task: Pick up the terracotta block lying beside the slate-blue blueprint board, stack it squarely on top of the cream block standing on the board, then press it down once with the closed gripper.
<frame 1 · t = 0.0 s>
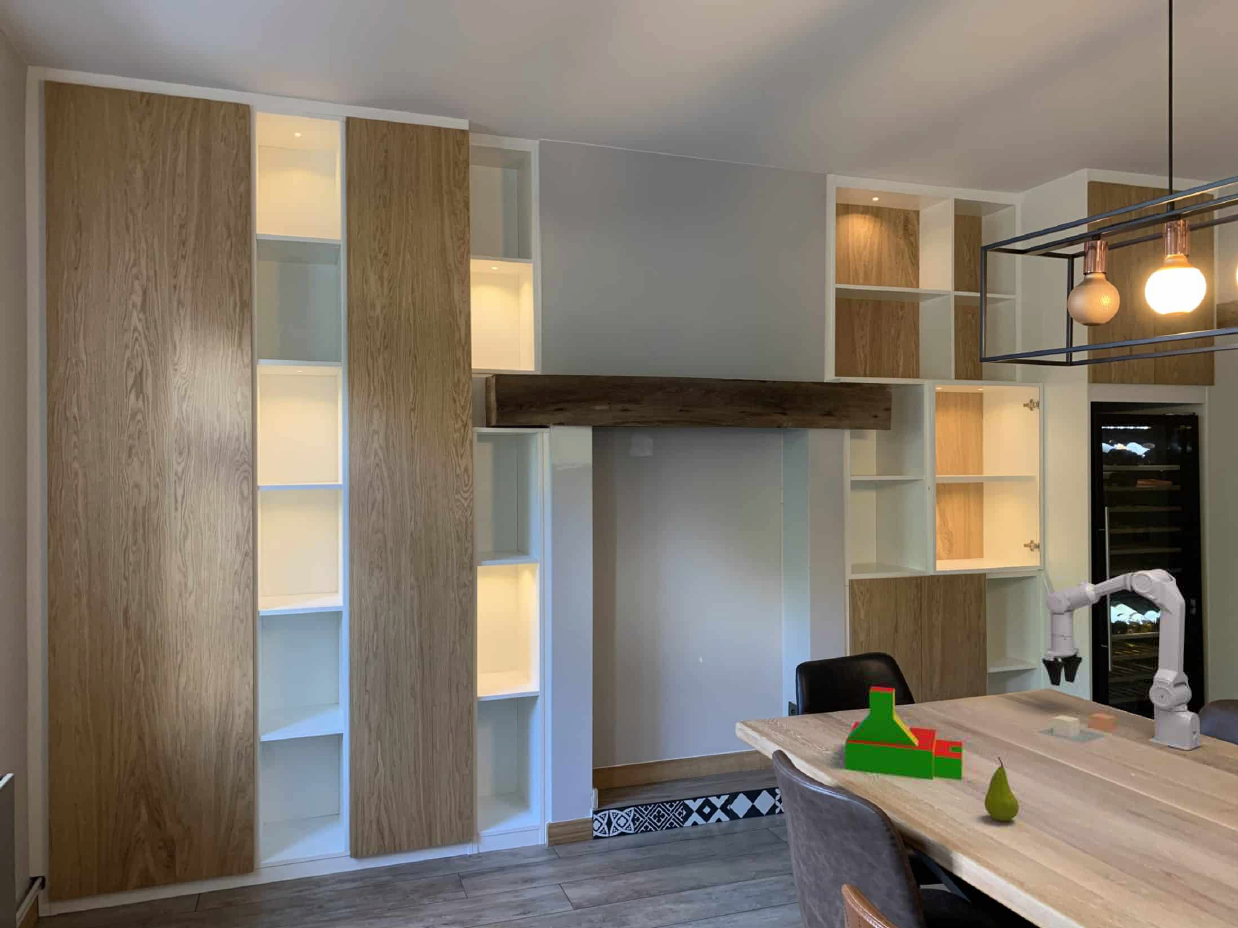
hand: (1062, 683, 248), 10 cm above the table, fingers open, 7 cm apart
cream block: (1066, 733, 231), resting on blueprint board
terracotta block: (1103, 730, 236), on the table
fruit: (1001, 820, 172), on the table
blueprint board: (1072, 735, 231), on the table
building blocks toy: (905, 765, 207), on the table
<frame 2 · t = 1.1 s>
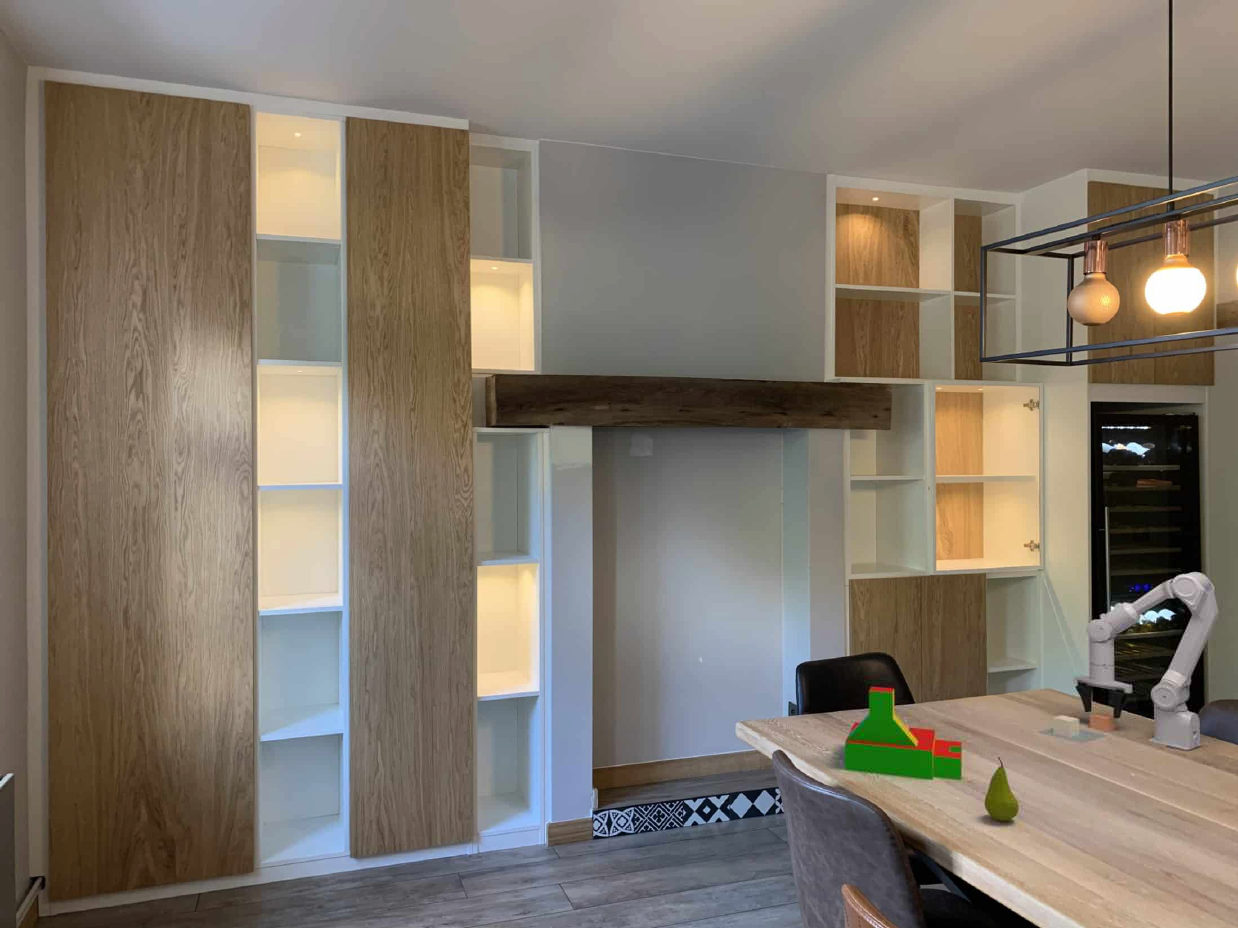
hand: (1102, 714, 236), 4 cm above the table, fingers open, 7 cm apart
nothing on the table moved.
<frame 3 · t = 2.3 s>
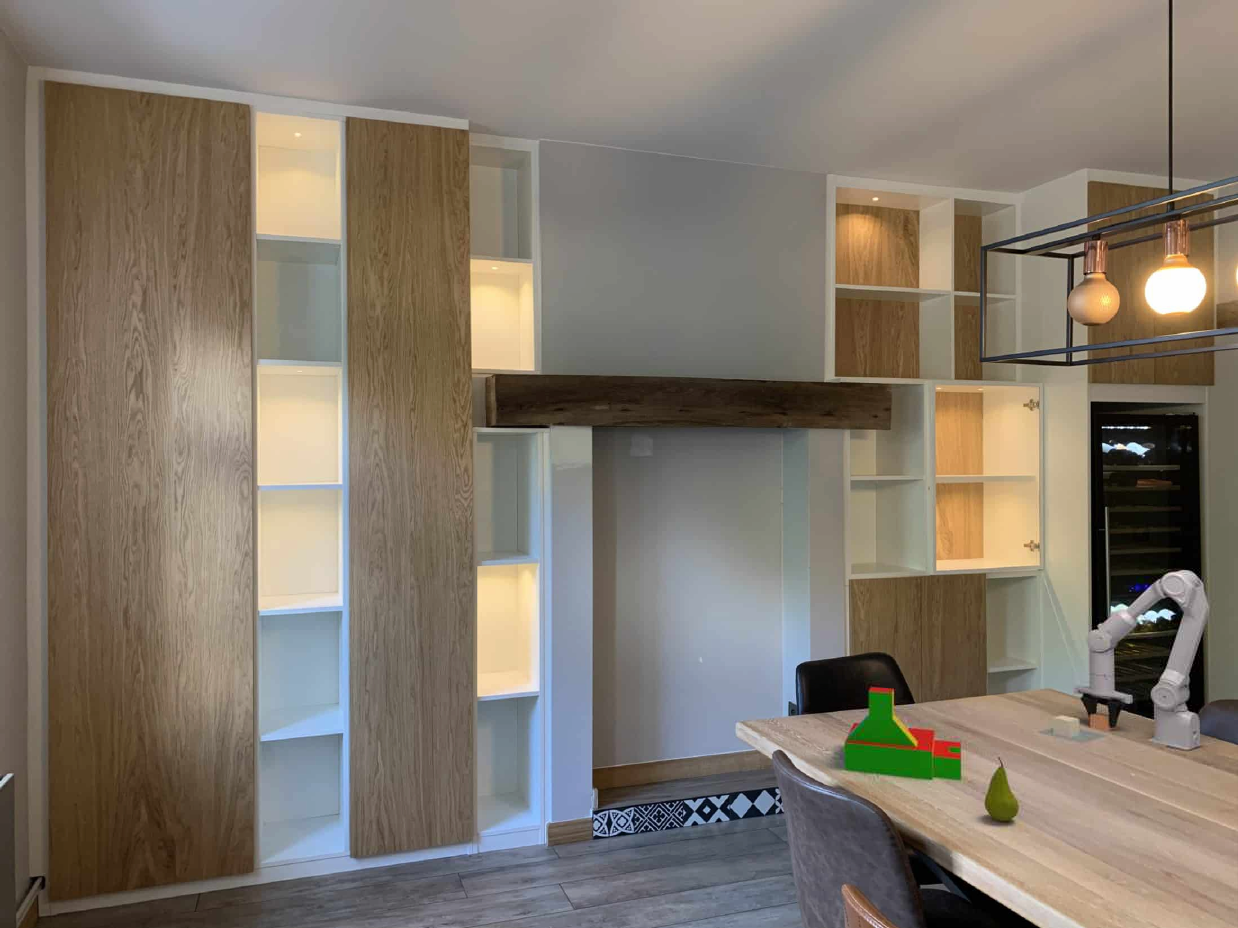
hand: (1102, 725, 236), 1 cm above the table, fingers closed on terracotta block, 4 cm apart
terracotta block: (1103, 730, 236), on the table, touching gripper
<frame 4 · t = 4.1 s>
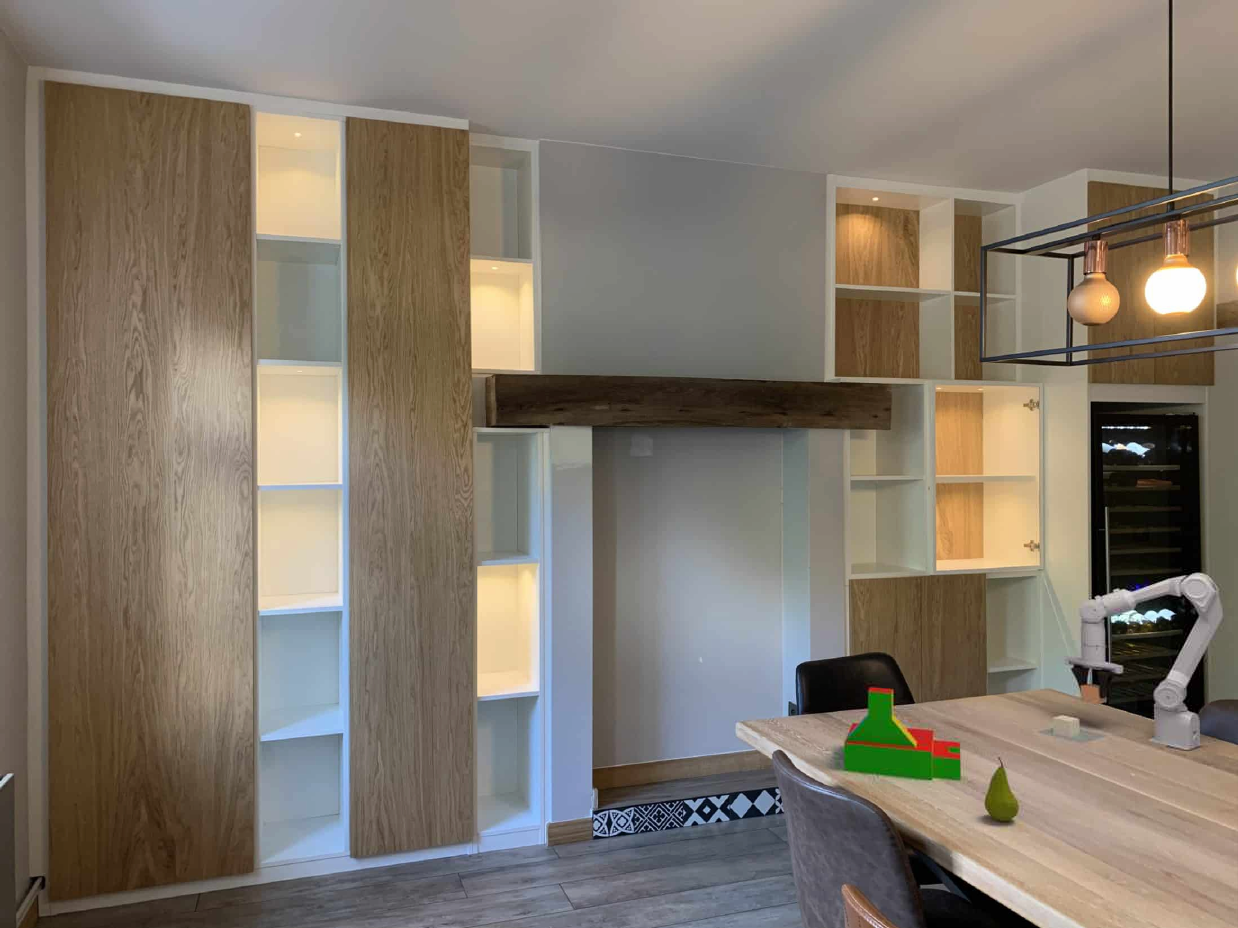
hand: (1093, 695, 235), 9 cm above the table, fingers closed on terracotta block, 4 cm apart
terracotta block: (1093, 701, 235), point 8 cm above the table, touching gripper
when the fingers open (7 cm above the table, at t = 6.1 s): terracotta block stays where it is, resting on cream block.
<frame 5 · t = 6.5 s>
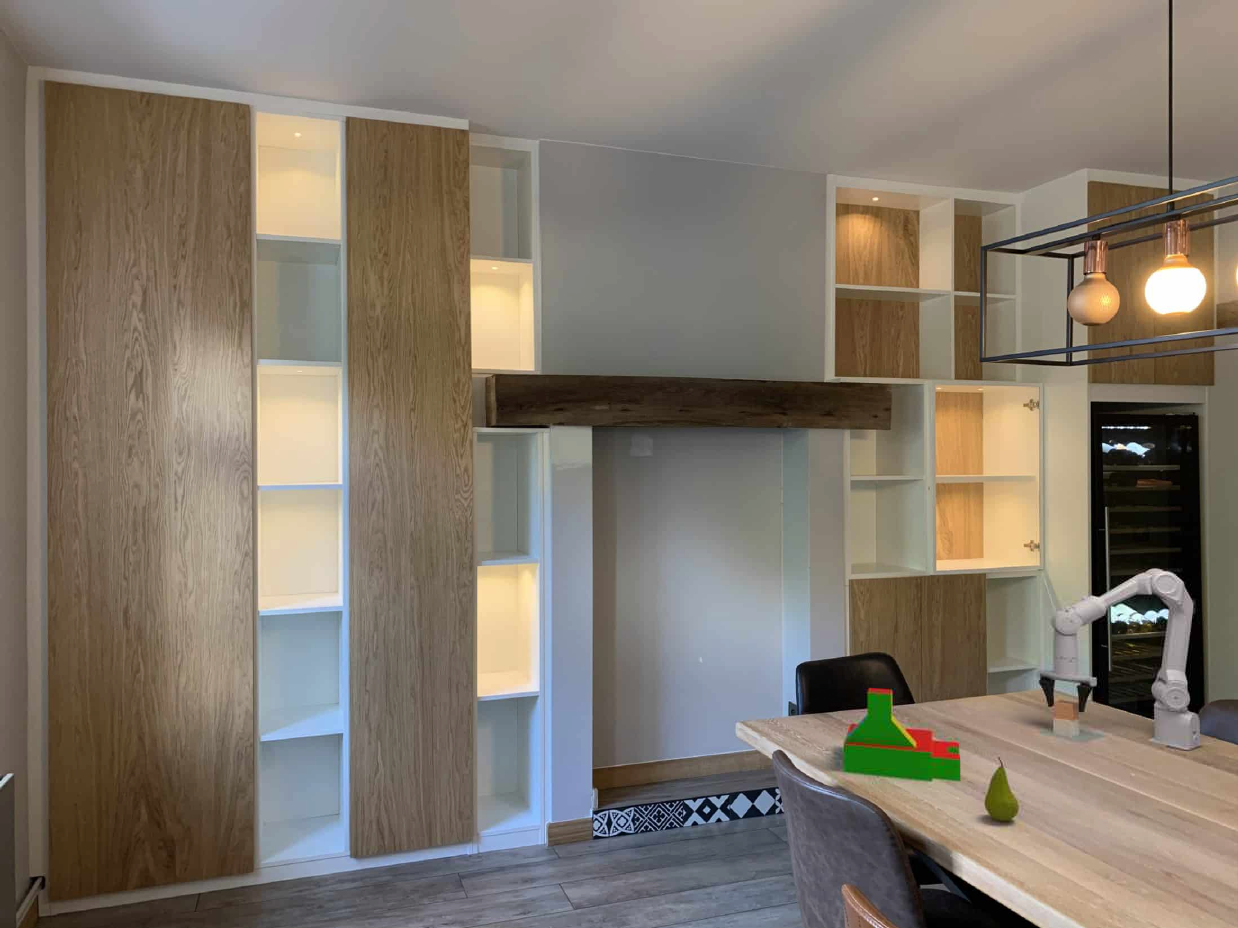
hand: (1066, 708, 232), 7 cm above the table, fingers open, 7 cm apart
cream block: (1066, 733, 231), resting on blueprint board, touching terracotta block
terracotta block: (1066, 717, 232), point 4 cm above the table, touching cream block
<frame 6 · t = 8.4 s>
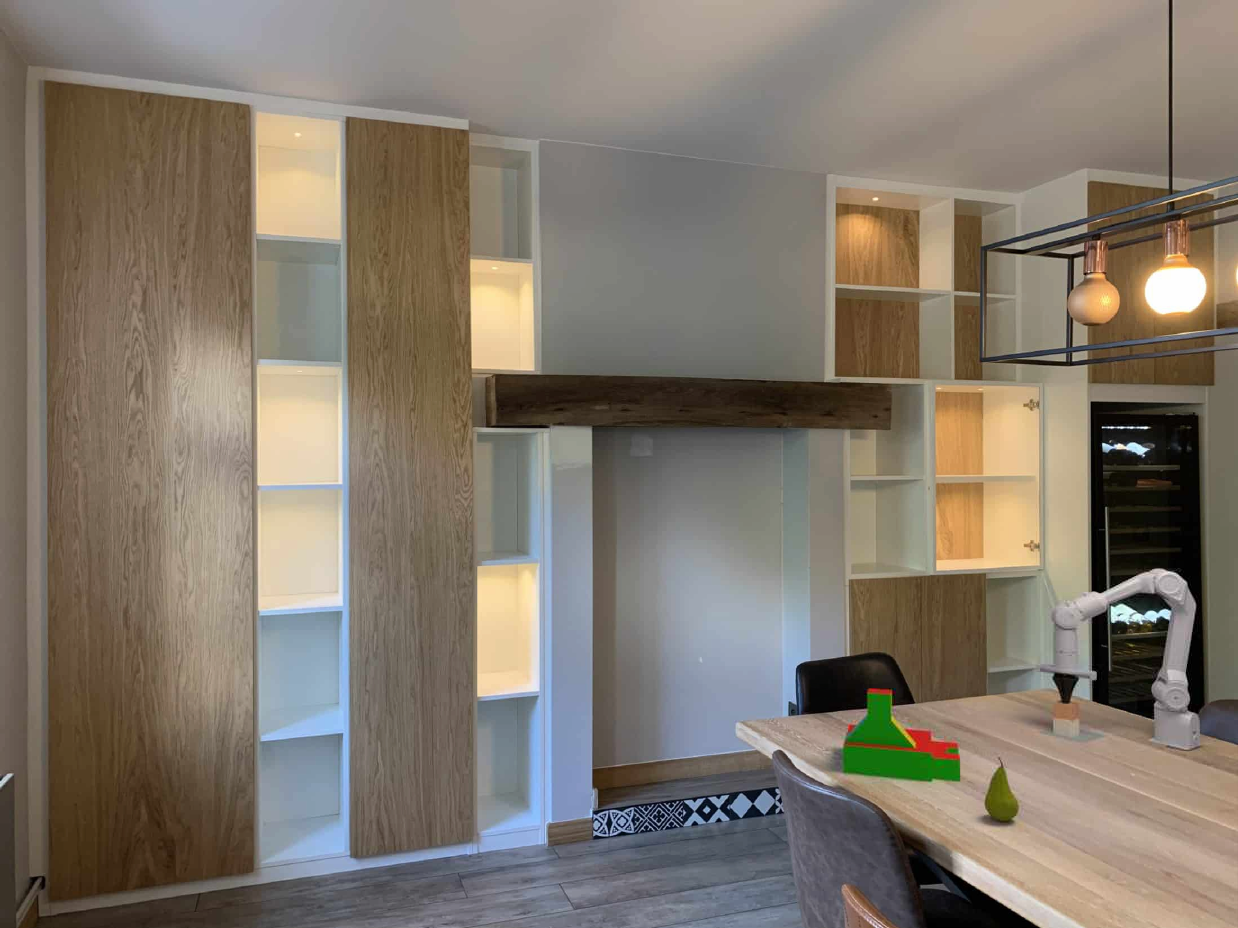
hand: (1065, 703, 232), 8 cm above the table, fingers closed, pressing on terracotta block
terracotta block: (1066, 717, 232), point 4 cm above the table, touching cream block, gripper
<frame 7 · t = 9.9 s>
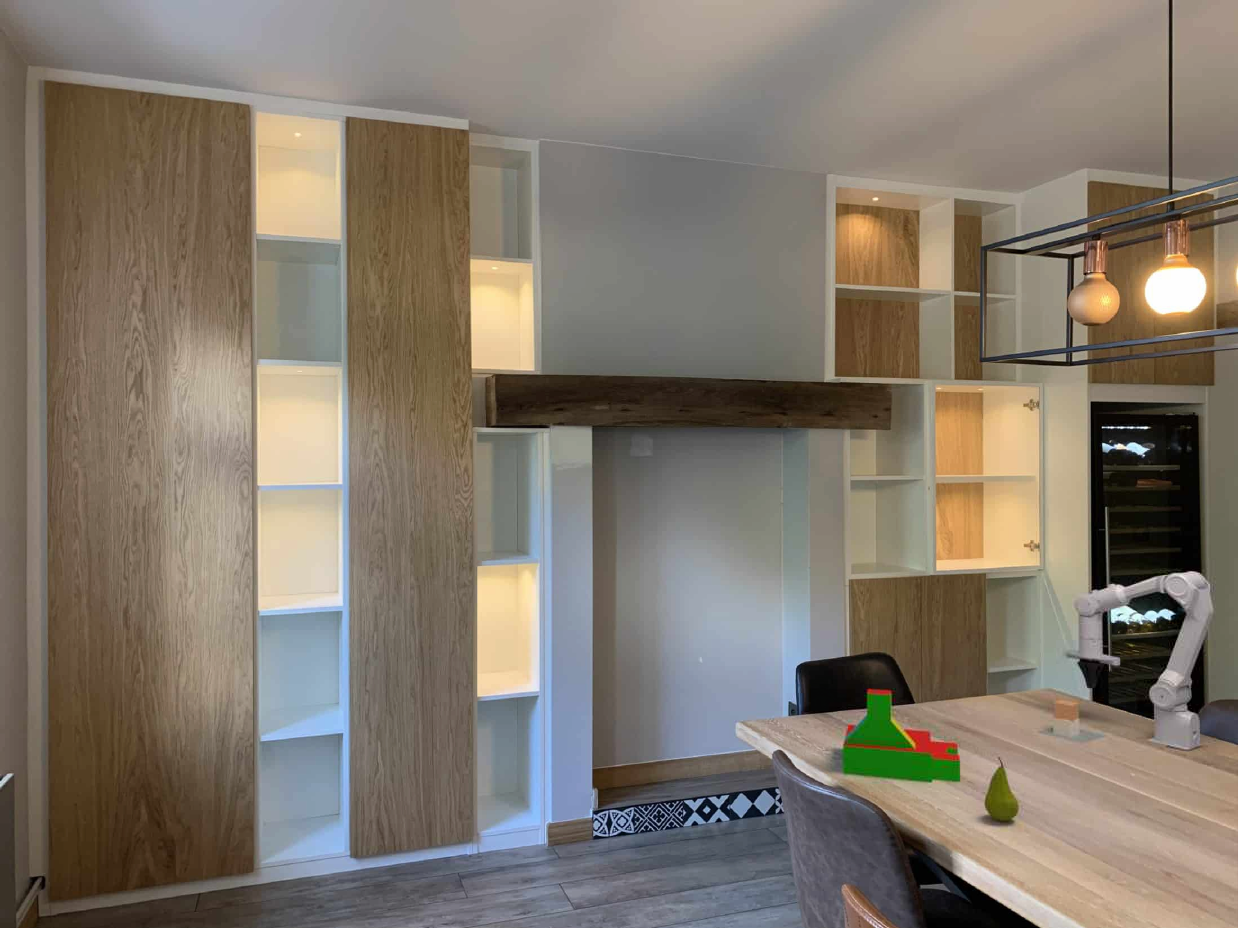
hand: (1091, 687, 241), 10 cm above the table, fingers closed
terracotta block: (1066, 717, 232), point 4 cm above the table, touching cream block
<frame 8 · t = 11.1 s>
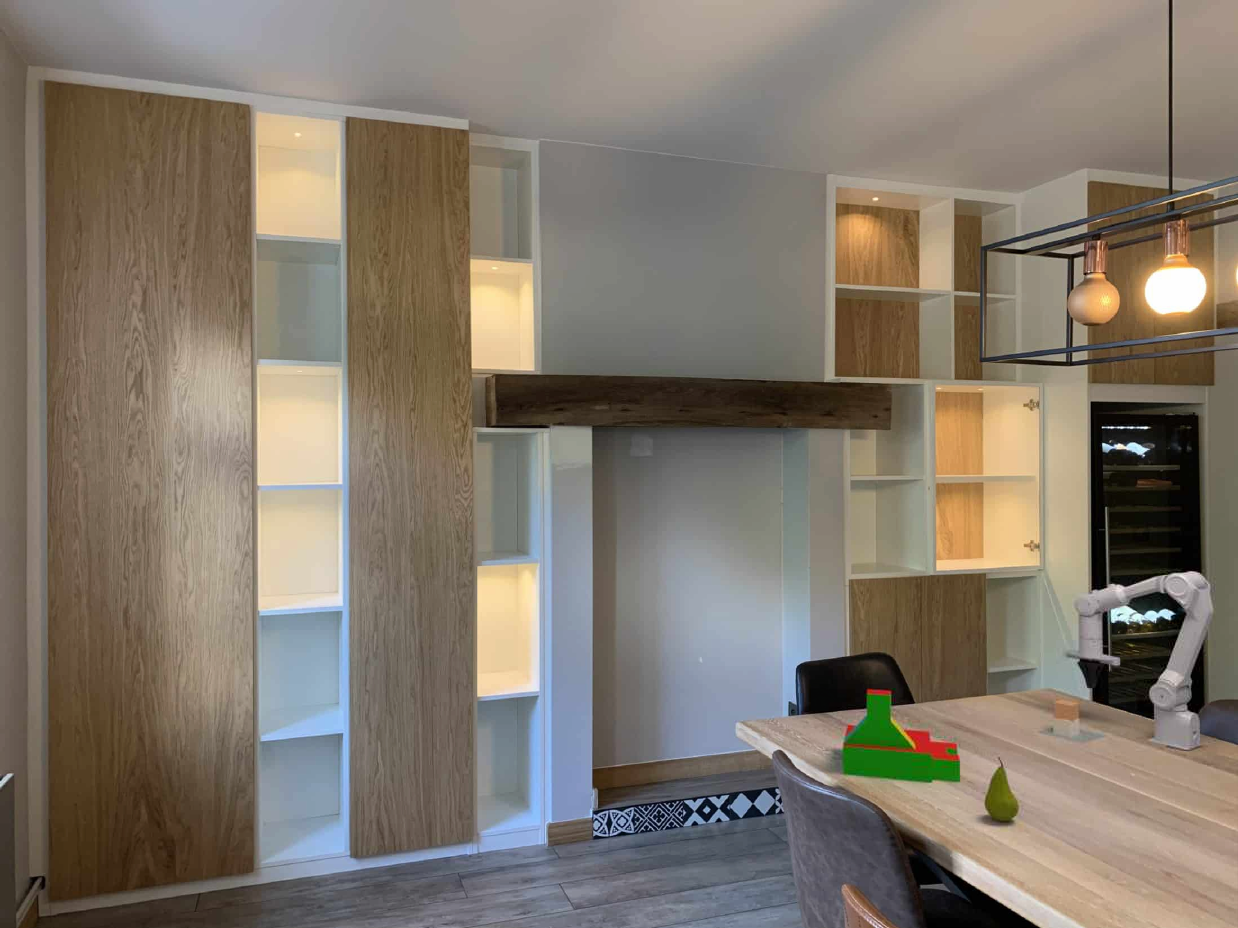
hand: (1091, 687, 241), 10 cm above the table, fingers closed
at the end: terracotta block 0.2 cm off-centre on the cream block, point 4.0 cm above the cream block's base; terracotta block tilted 0°; cream block moved 0.0 cm from its start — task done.
